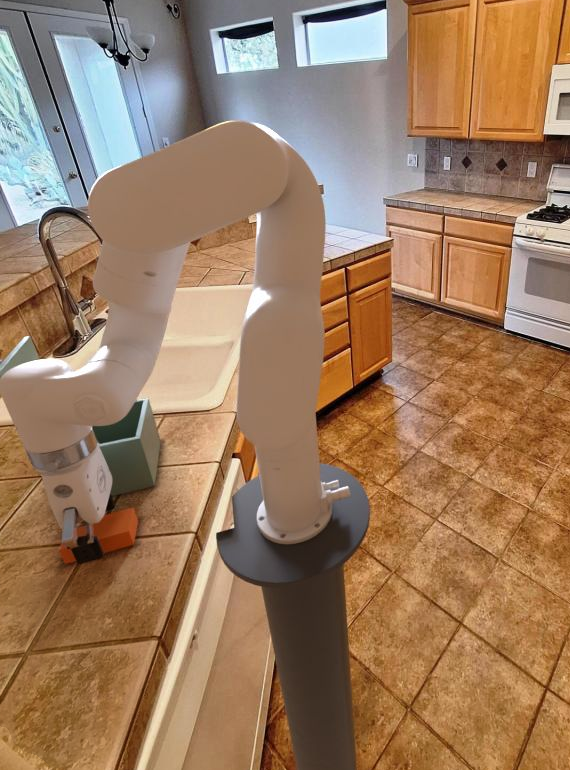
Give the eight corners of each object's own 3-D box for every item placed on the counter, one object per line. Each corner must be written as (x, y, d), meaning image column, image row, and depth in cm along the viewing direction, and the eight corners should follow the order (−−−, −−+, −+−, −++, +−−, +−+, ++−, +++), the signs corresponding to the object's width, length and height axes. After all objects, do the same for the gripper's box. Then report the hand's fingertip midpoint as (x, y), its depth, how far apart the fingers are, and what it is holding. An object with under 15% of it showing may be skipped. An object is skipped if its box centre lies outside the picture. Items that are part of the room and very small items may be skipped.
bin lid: (30, 335, 73) (-5, 340, 71) (-2, 373, 61) (-45, 379, 60) (61, 410, 79) (30, 416, 78) (37, 456, 68) (0, 464, 66)
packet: (138, 520, 71) (133, 507, 70) (134, 544, 67) (129, 531, 65) (73, 537, 68) (67, 524, 66) (65, 564, 64) (58, 550, 62)
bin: (161, 441, 89) (148, 397, 85) (154, 485, 78) (139, 438, 73) (78, 458, 84) (59, 413, 79) (58, 509, 73) (35, 459, 68)
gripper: (81, 481, 53) (116, 573, 61) (107, 407, 68) (133, 488, 75) (5, 498, 51) (52, 592, 58) (49, 417, 65) (82, 500, 72)
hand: (98, 533), depth 66 cm, fingers open, 9 cm apart
